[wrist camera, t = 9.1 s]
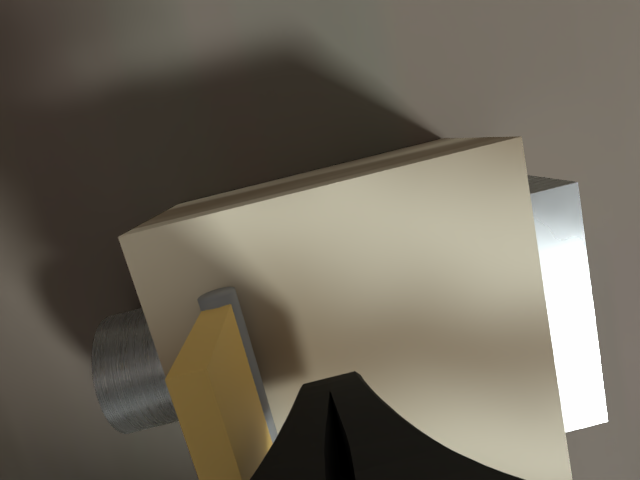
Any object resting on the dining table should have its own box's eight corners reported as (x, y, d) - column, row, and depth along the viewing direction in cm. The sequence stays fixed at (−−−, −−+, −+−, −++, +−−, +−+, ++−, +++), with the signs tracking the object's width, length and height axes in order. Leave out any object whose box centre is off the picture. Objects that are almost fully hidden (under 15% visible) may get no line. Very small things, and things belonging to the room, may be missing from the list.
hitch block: (486, 379, 20) (573, 485, 14) (250, 439, 20) (232, 572, 13) (441, 138, 18) (521, 136, 12) (177, 203, 17) (117, 237, 11)
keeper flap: (300, 502, 13) (305, 660, 9) (268, 510, 13) (259, 671, 9) (237, 284, 12) (209, 356, 8) (201, 292, 12) (155, 370, 8)
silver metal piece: (514, 339, 19) (608, 421, 14) (167, 427, 19) (115, 546, 13) (486, 169, 18) (577, 181, 12) (110, 263, 18) (25, 320, 12)
